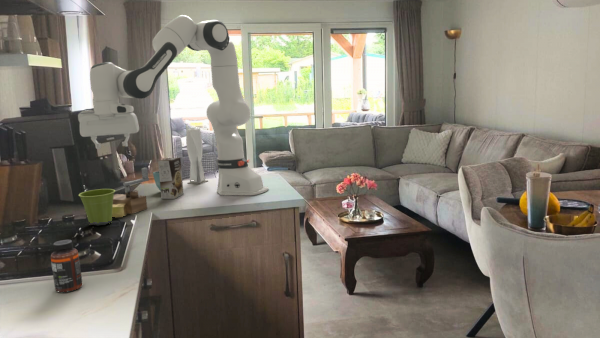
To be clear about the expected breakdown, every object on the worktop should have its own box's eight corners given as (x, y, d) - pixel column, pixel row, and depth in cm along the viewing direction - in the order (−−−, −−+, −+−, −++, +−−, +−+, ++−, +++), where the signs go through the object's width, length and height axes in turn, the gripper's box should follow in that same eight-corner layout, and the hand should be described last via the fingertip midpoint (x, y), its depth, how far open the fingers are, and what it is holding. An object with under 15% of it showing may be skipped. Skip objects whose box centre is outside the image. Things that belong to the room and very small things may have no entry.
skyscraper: (185, 183, 253) (179, 125, 248) (194, 180, 260) (190, 123, 255) (199, 184, 249) (194, 124, 245) (209, 180, 256) (204, 123, 252)
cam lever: (128, 197, 199) (125, 172, 198) (124, 197, 201) (121, 172, 199) (150, 191, 209) (147, 167, 207) (146, 191, 210) (144, 167, 208)
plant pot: (76, 225, 182) (72, 193, 181) (108, 218, 191) (104, 187, 189) (92, 230, 174) (88, 197, 173) (125, 222, 183) (121, 190, 181)
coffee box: (175, 198, 219) (171, 160, 216) (160, 198, 220) (157, 160, 217) (184, 194, 227) (181, 157, 225) (170, 194, 229) (167, 157, 226)
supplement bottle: (81, 281, 127) (75, 236, 126) (84, 289, 122) (78, 242, 120) (54, 287, 125) (48, 241, 123) (56, 295, 120) (49, 247, 118)
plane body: (147, 208, 203) (145, 189, 202) (132, 213, 196) (130, 193, 195) (118, 206, 210) (116, 187, 208) (102, 211, 203) (100, 192, 201)
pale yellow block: (124, 217, 192) (123, 206, 191) (110, 218, 191) (109, 207, 191) (127, 213, 197) (126, 203, 196) (113, 214, 196) (112, 204, 196)
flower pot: (166, 193, 230) (165, 173, 229) (154, 192, 235) (152, 172, 234) (182, 190, 237) (180, 170, 235) (169, 188, 242) (168, 169, 241)
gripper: (74, 111, 184) (79, 150, 187) (133, 107, 185) (138, 146, 188) (80, 110, 190) (85, 148, 193) (137, 106, 191) (142, 144, 194)
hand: (111, 147), depth 190 cm, fingers open, 8 cm apart
